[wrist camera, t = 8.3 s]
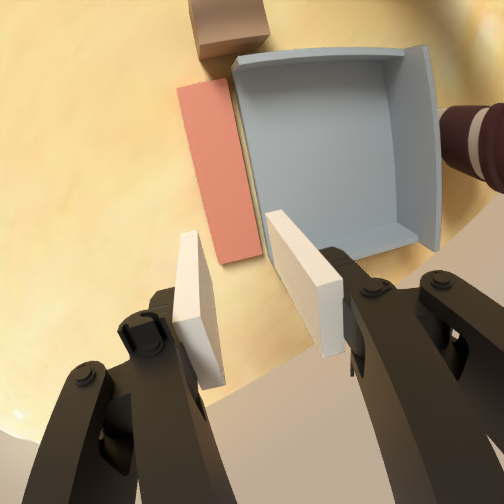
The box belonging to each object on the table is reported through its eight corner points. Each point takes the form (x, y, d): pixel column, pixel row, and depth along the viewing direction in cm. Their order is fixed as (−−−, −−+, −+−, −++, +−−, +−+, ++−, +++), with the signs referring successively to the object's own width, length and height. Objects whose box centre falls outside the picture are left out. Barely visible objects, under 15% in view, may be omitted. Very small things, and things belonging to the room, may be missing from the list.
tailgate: (225, 79, 29) (177, 89, 28) (226, 77, 28) (176, 88, 27) (260, 249, 37) (218, 260, 37) (262, 254, 36) (219, 264, 36)
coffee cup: (441, 182, 38) (521, 216, 24) (398, 140, 34) (487, 161, 21) (468, 128, 35) (548, 147, 22) (429, 83, 32) (517, 85, 18)
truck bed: (230, 67, 28) (242, 48, 20) (380, 56, 30) (427, 45, 21) (268, 256, 38) (288, 296, 29) (396, 223, 39) (439, 250, 31)
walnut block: (189, 12, 25) (187, -12, 19) (245, 3, 26) (256, -22, 19) (198, 60, 28) (199, 45, 21) (255, 50, 28) (270, 34, 22)
